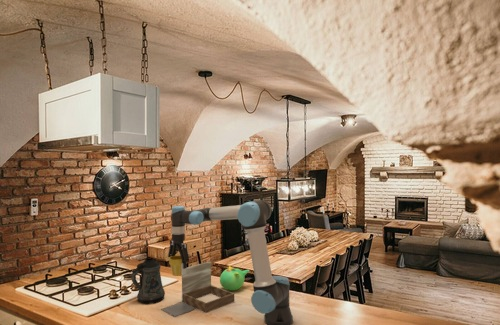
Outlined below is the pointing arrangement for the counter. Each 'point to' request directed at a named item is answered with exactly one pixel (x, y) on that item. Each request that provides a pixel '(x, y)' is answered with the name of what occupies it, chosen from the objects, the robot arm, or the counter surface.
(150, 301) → the beer stein
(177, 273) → the plant pot
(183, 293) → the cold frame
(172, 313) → the slate pad
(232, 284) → the toy bird
